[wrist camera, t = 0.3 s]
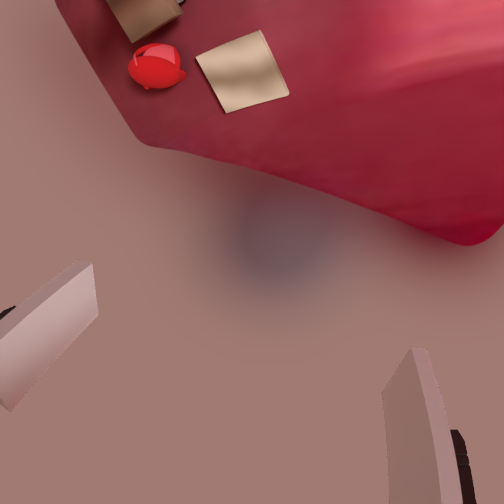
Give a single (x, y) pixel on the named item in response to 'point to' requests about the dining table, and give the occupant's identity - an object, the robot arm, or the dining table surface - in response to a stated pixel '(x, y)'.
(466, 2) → the dining table surface
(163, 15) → the brown toy skateboard
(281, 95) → the coaster
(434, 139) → the dining table surface
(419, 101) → the dining table surface
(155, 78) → the red rounded piece
